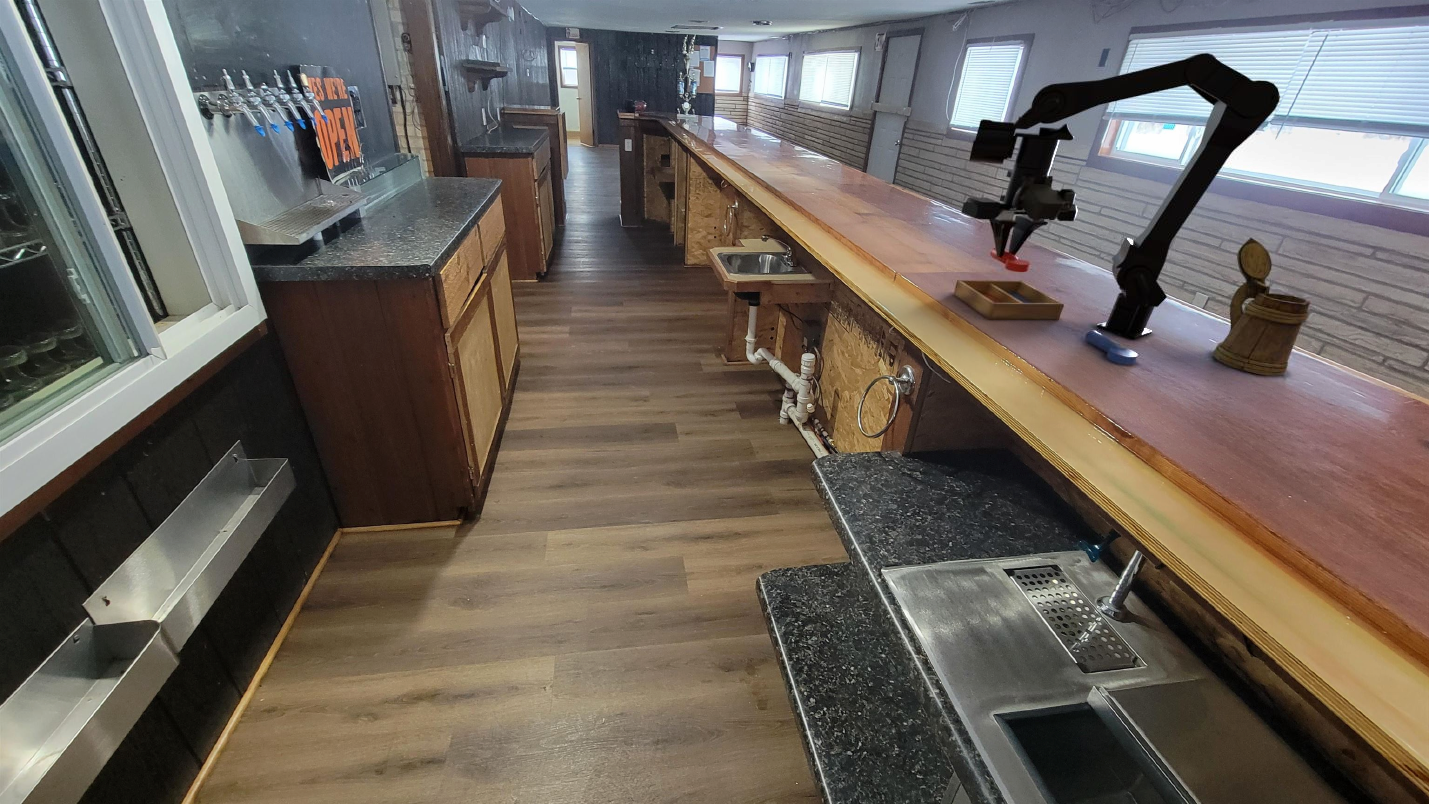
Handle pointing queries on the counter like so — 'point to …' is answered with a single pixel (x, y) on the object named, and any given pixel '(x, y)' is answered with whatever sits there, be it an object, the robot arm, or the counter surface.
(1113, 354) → the blue spoon
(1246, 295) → the wooden mug
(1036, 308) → the cutlery tray
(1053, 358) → the counter surface
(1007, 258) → the red spoon
